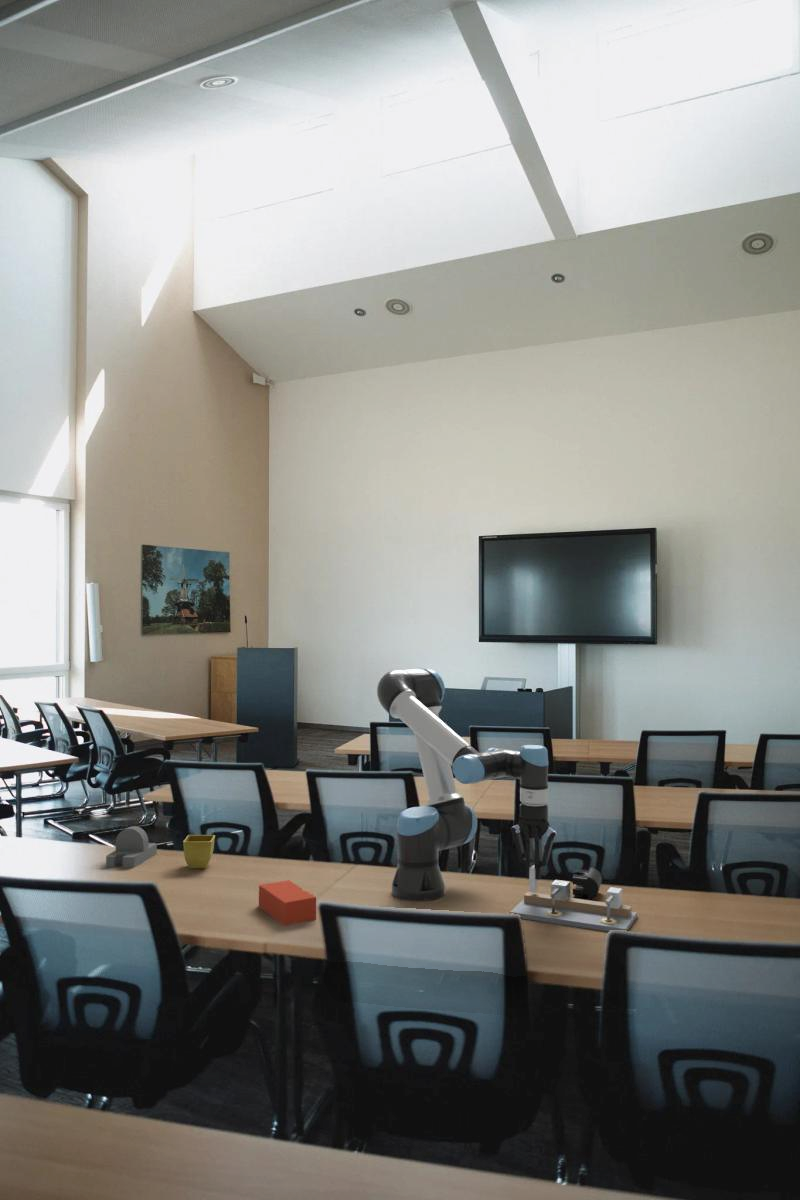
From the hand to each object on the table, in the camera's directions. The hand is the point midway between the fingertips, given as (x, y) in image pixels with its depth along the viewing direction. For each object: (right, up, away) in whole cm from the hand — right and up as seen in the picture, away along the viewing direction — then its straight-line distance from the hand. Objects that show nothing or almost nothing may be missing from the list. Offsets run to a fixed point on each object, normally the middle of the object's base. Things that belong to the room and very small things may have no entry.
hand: (533, 890), depth 238 cm
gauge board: (+9, -4, -9) cm, 13 cm away
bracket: (-123, -6, +48) cm, 133 cm away
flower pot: (-100, -6, +40) cm, 107 cm away
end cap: (+17, -5, +9) cm, 19 cm away
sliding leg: (+5, -2, -6) cm, 9 cm away
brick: (-66, -5, -4) cm, 66 cm away
